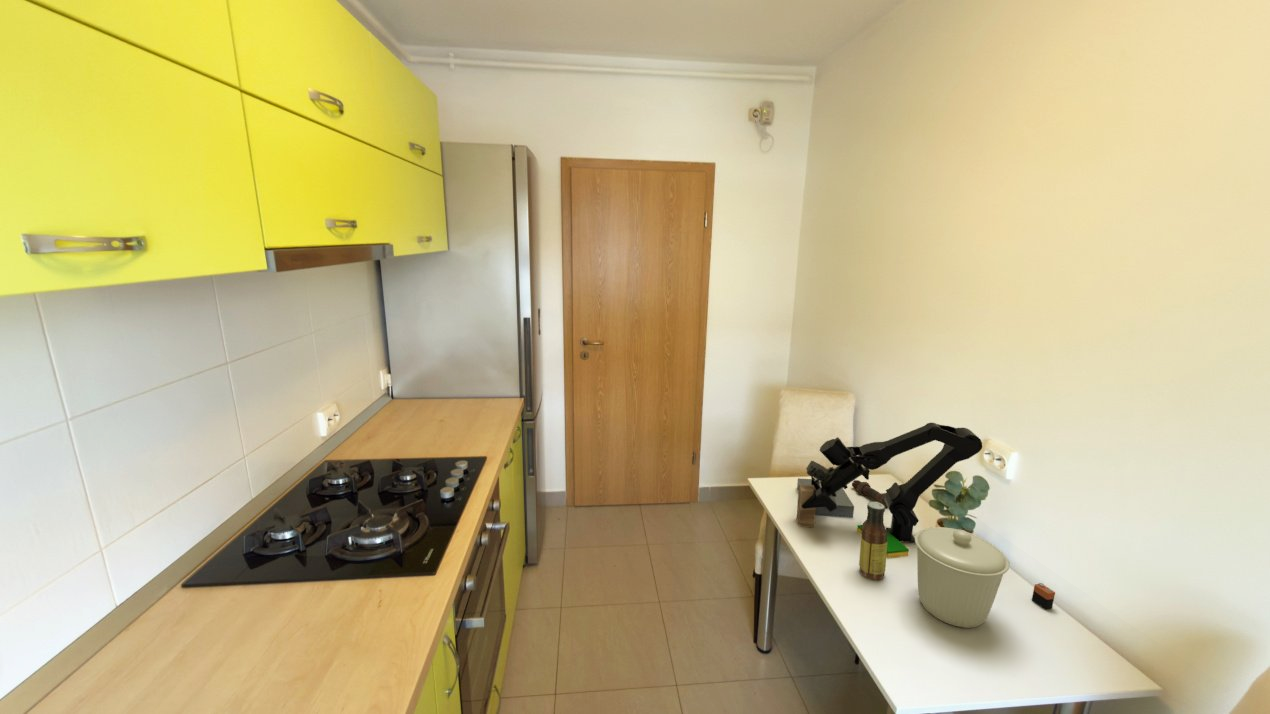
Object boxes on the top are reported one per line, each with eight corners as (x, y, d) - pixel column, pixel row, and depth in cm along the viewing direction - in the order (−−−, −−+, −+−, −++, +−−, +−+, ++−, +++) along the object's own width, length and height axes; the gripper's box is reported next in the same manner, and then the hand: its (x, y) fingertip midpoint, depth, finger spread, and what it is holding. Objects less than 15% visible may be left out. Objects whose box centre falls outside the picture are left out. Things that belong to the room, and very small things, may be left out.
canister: (1003, 610, 112) (1018, 531, 108) (990, 655, 100) (1006, 567, 95) (918, 575, 125) (928, 502, 120) (897, 611, 112) (907, 531, 108)
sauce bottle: (887, 572, 126) (895, 505, 122) (880, 584, 121) (888, 514, 117) (861, 562, 130) (868, 496, 126) (853, 573, 126) (861, 505, 121)
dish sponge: (876, 529, 146) (877, 522, 146) (908, 557, 133) (909, 549, 132) (856, 531, 145) (856, 524, 145) (886, 559, 132) (887, 551, 131)
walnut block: (814, 527, 147) (817, 491, 145) (799, 526, 148) (801, 490, 145) (810, 519, 151) (813, 484, 149) (796, 518, 152) (798, 484, 150)
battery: (1038, 599, 116) (1041, 581, 115) (1052, 608, 113) (1056, 590, 112) (1030, 600, 115) (1034, 582, 114) (1045, 610, 112) (1049, 592, 111)
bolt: (855, 492, 172) (887, 512, 158) (846, 487, 171) (877, 507, 156) (863, 478, 172) (895, 497, 158) (853, 473, 171) (885, 492, 156)
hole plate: (853, 517, 152) (854, 506, 151) (808, 514, 154) (809, 503, 153) (837, 490, 170) (838, 480, 169) (797, 488, 171) (797, 478, 171)
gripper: (821, 444, 152) (783, 471, 158) (827, 468, 135) (785, 498, 140) (845, 469, 152) (806, 496, 157) (854, 497, 134) (811, 526, 140)
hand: (801, 503), depth 148 cm, fingers closed on walnut block, 5 cm apart
